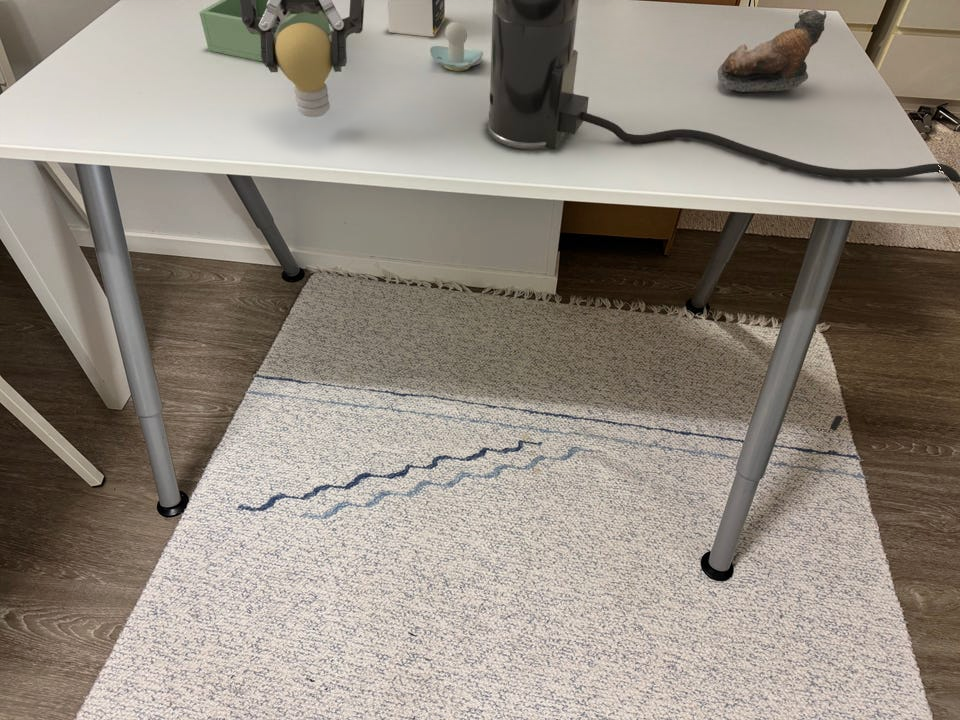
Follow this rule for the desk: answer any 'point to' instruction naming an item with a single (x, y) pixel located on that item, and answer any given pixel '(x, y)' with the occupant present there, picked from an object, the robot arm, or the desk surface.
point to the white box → (415, 16)
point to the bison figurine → (774, 59)
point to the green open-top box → (244, 28)
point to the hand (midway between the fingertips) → (305, 69)
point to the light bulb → (306, 65)
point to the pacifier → (456, 50)
